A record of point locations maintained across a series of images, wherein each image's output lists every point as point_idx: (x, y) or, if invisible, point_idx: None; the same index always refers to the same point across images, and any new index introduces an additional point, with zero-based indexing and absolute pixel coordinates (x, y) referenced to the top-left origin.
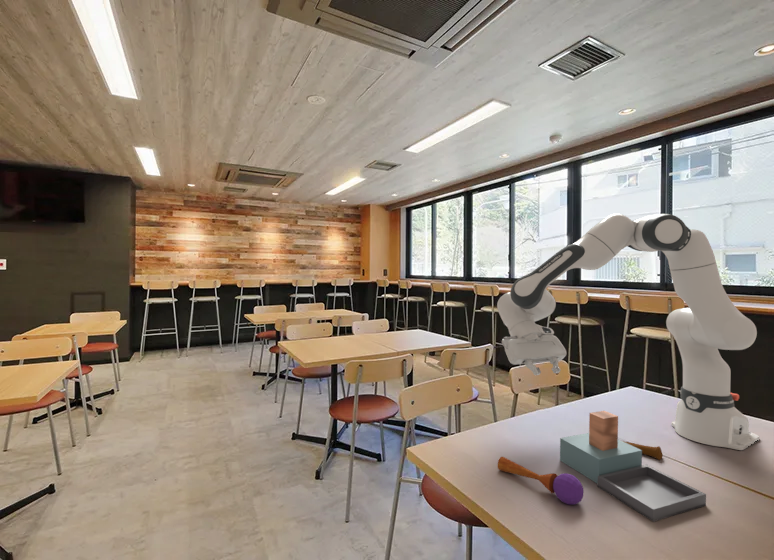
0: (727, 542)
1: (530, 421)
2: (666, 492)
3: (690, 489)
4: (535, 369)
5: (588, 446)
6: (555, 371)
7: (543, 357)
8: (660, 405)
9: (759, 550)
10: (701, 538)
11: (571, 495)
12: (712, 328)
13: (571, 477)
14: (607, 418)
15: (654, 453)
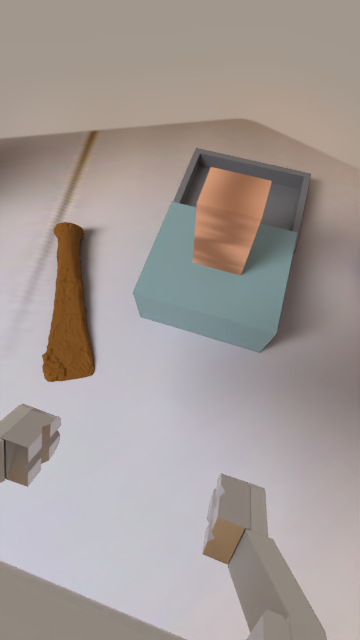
0: (264, 138)
1: (79, 574)
2: None
3: (196, 163)
4: (265, 519)
5: (257, 269)
6: (51, 435)
7: (48, 582)
8: None
9: (248, 121)
10: (283, 153)
11: None
12: None
13: None
14: (253, 178)
15: (79, 234)
